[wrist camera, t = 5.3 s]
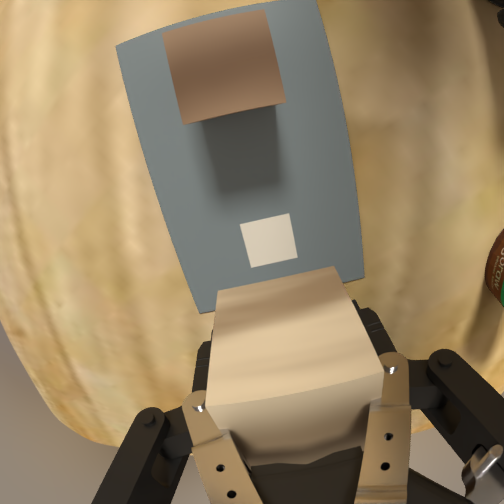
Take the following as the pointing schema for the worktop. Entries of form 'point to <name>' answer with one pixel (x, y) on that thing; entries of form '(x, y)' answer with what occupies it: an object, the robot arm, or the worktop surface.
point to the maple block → (291, 369)
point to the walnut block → (223, 66)
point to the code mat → (252, 163)
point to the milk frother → (503, 14)
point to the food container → (496, 268)
